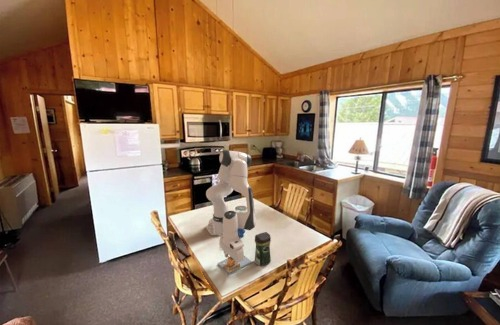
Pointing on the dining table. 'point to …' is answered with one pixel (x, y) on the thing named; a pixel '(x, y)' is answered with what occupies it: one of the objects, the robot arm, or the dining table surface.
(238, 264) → the bracket
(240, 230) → the grapes
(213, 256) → the dining table surface
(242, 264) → the routing panel
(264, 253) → the coffee jar
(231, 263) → the block
